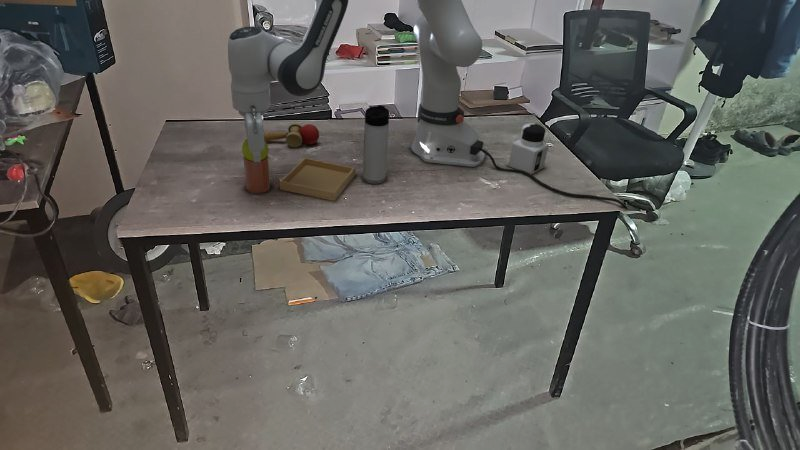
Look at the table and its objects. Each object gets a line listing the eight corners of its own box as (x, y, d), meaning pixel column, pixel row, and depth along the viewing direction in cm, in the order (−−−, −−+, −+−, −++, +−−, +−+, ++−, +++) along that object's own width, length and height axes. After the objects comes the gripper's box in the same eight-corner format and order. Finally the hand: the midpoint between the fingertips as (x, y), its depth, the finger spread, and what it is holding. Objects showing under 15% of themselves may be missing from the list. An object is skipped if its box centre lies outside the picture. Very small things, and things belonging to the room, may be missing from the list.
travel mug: (389, 175, 156) (393, 107, 145) (380, 186, 151) (384, 116, 140) (368, 171, 158) (370, 103, 147) (359, 181, 152) (361, 111, 142)
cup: (274, 184, 148) (272, 153, 143) (263, 195, 143) (260, 163, 138) (253, 180, 149) (251, 149, 144) (242, 190, 144) (239, 159, 139)
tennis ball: (273, 157, 144) (272, 134, 140) (261, 168, 138) (259, 144, 135) (251, 153, 145) (249, 130, 141) (238, 163, 140) (235, 140, 136)
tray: (355, 175, 155) (355, 167, 154) (334, 201, 143) (334, 192, 141) (304, 165, 158) (304, 157, 157) (279, 189, 146) (279, 181, 145)
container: (543, 167, 167) (553, 127, 160) (530, 175, 162) (539, 134, 155) (521, 158, 171) (530, 118, 164) (507, 166, 166) (515, 125, 159)
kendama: (258, 152, 166) (319, 146, 166) (254, 131, 163) (316, 125, 164) (262, 145, 173) (321, 139, 173) (259, 125, 171) (318, 119, 171)
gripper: (269, 115, 125) (272, 170, 133) (261, 84, 142) (264, 135, 149) (239, 116, 124) (245, 172, 131) (235, 85, 140) (240, 136, 148)
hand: (255, 152), depth 140 cm, fingers open, 8 cm apart
